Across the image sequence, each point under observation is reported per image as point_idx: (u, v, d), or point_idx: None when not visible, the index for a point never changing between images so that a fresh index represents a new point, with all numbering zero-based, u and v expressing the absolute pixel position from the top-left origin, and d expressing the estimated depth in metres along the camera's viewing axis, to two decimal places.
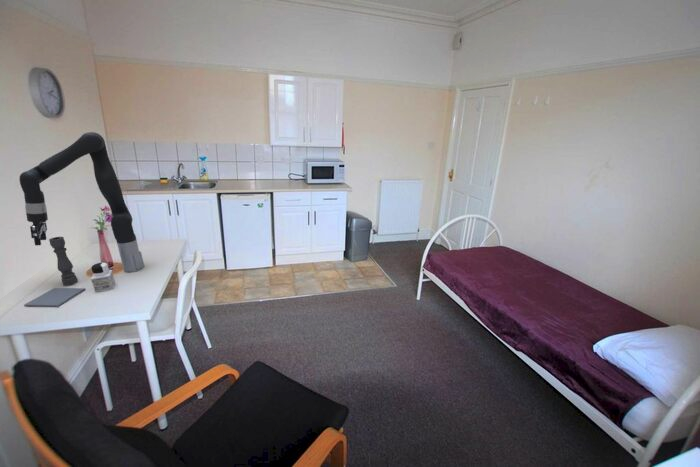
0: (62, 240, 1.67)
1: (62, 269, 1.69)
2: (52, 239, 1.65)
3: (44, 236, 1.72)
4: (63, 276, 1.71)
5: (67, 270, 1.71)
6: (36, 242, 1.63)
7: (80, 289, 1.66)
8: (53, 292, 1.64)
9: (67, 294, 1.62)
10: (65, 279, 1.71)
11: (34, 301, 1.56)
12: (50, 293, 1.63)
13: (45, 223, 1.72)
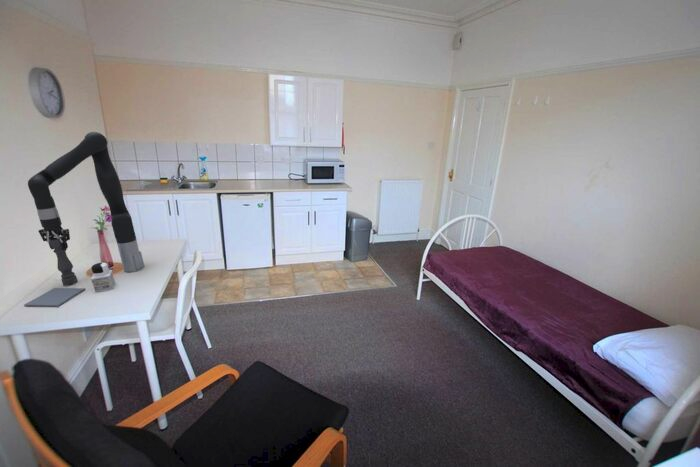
0: None
1: (62, 269, 1.69)
2: (52, 239, 1.65)
3: None
4: (63, 276, 1.71)
5: (67, 270, 1.71)
6: (66, 245, 1.68)
7: (80, 289, 1.66)
8: (53, 292, 1.64)
9: (67, 294, 1.62)
10: (65, 279, 1.71)
11: (34, 301, 1.56)
12: (50, 293, 1.63)
13: None
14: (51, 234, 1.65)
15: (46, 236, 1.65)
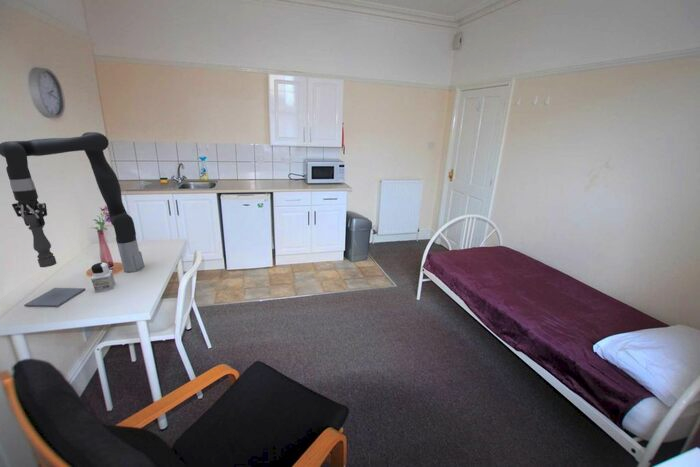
0: None
1: (38, 248, 1.52)
2: (27, 214, 1.48)
3: None
4: (39, 256, 1.54)
5: (44, 250, 1.54)
6: (42, 222, 1.51)
7: (80, 289, 1.66)
8: (53, 292, 1.64)
9: (67, 294, 1.62)
10: (42, 260, 1.54)
11: (34, 301, 1.56)
12: (50, 293, 1.63)
13: (21, 206, 1.50)
14: (26, 208, 1.48)
15: (20, 211, 1.48)
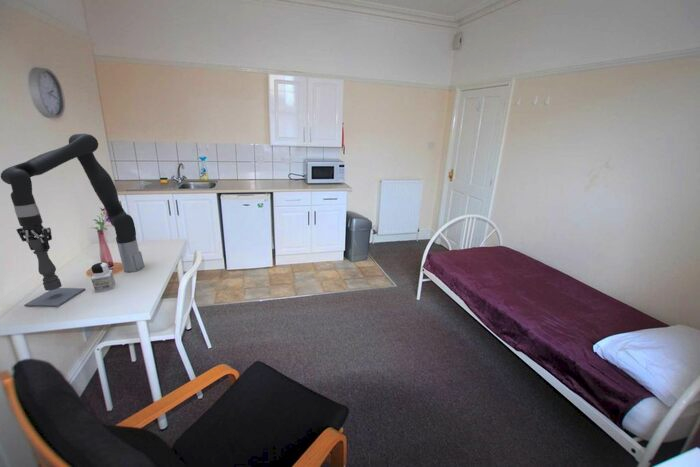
0: None
1: (43, 272, 1.53)
2: (32, 239, 1.49)
3: None
4: (45, 280, 1.55)
5: (49, 273, 1.55)
6: (47, 246, 1.51)
7: (80, 289, 1.66)
8: (53, 292, 1.64)
9: (67, 294, 1.62)
10: (47, 283, 1.55)
11: (34, 301, 1.56)
12: (50, 293, 1.63)
13: None
14: (31, 233, 1.49)
15: (25, 236, 1.49)
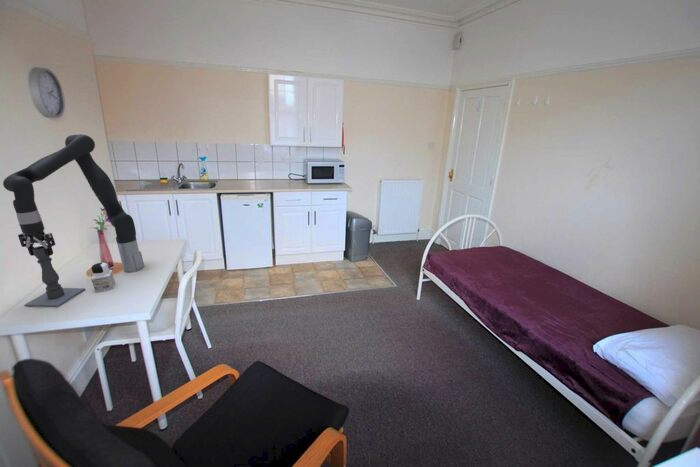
0: None
1: (47, 281, 1.55)
2: (36, 248, 1.51)
3: None
4: (48, 289, 1.56)
5: (52, 282, 1.56)
6: (51, 251, 1.52)
7: (80, 289, 1.66)
8: None
9: (67, 294, 1.62)
10: (50, 292, 1.57)
11: (34, 301, 1.56)
12: None
13: None
14: (32, 240, 1.50)
15: (26, 241, 1.49)
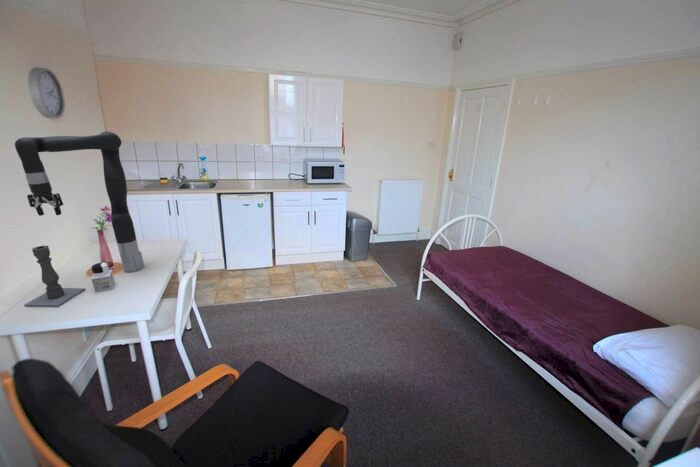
0: (46, 249, 1.52)
1: (47, 281, 1.55)
2: (35, 248, 1.51)
3: (42, 210, 1.62)
4: (48, 289, 1.56)
5: (52, 282, 1.56)
6: (59, 211, 1.61)
7: (80, 289, 1.66)
8: None
9: (67, 294, 1.62)
10: (50, 292, 1.57)
11: (34, 301, 1.56)
12: None
13: None
14: (40, 201, 1.58)
15: (35, 202, 1.58)
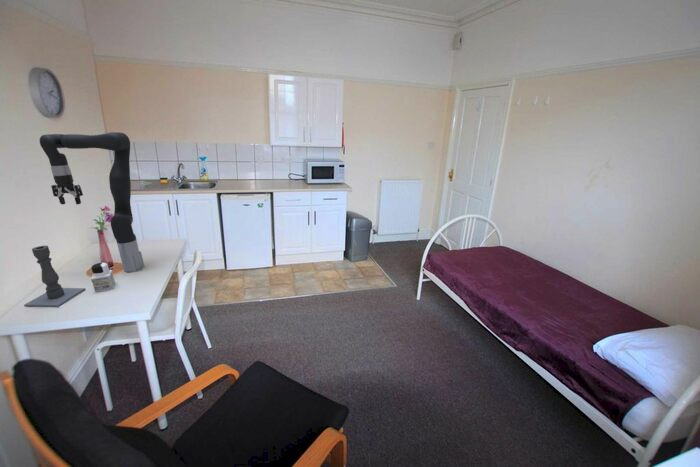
0: (46, 249, 1.52)
1: (47, 281, 1.55)
2: (35, 248, 1.51)
3: (64, 200, 1.80)
4: (48, 289, 1.56)
5: (52, 282, 1.56)
6: (79, 201, 1.79)
7: (80, 289, 1.66)
8: None
9: (67, 294, 1.62)
10: (50, 292, 1.57)
11: (34, 301, 1.56)
12: None
13: None
14: (63, 191, 1.76)
15: (58, 191, 1.76)
